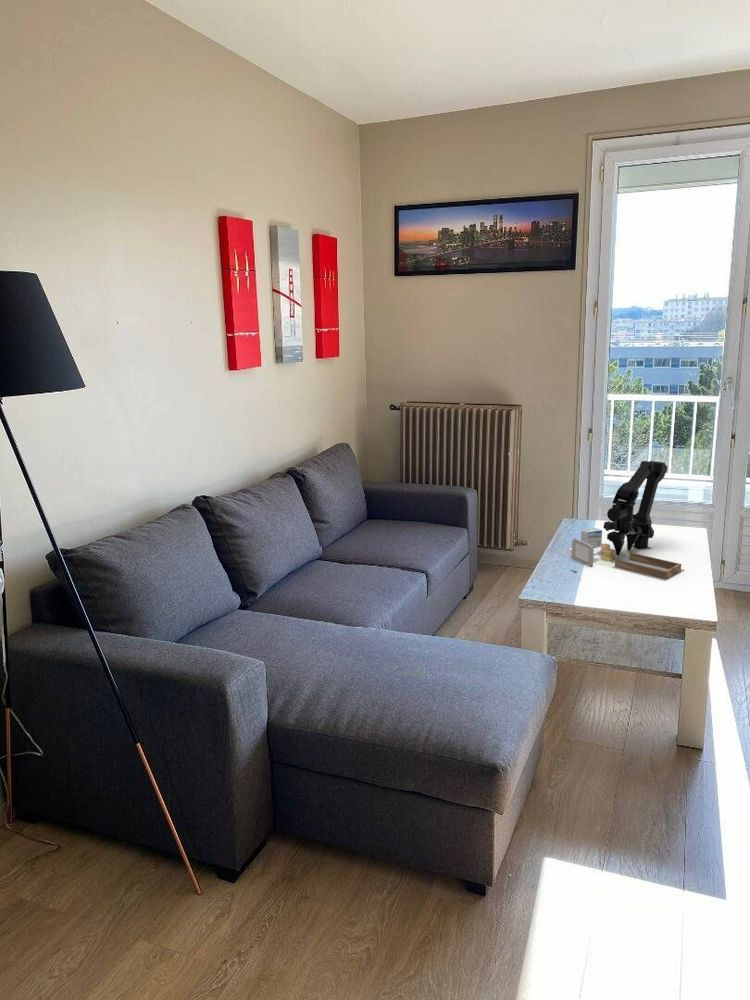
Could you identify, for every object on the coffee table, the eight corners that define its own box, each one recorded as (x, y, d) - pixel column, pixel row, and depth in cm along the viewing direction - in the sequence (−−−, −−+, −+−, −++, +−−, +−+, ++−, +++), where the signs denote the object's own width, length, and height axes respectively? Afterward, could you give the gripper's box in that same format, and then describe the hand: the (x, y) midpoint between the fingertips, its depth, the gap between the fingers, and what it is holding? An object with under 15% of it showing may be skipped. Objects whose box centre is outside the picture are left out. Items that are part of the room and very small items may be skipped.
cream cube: (571, 555, 321) (572, 546, 320) (580, 556, 319) (581, 547, 318) (568, 558, 318) (569, 549, 317) (578, 559, 316) (578, 550, 315)
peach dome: (603, 552, 320) (604, 543, 319) (611, 554, 318) (611, 544, 317) (599, 554, 318) (599, 545, 317) (606, 556, 315) (607, 546, 314)
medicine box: (586, 551, 325) (587, 532, 323) (580, 548, 329) (581, 529, 327) (601, 549, 328) (602, 530, 326) (595, 546, 332) (596, 527, 330)
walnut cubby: (630, 559, 311) (630, 552, 310) (680, 571, 296) (681, 564, 295) (614, 566, 302) (615, 559, 302) (665, 579, 287) (666, 572, 286)
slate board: (601, 553, 323) (602, 550, 323) (685, 572, 297) (685, 569, 297) (580, 562, 312) (580, 559, 311) (665, 584, 286) (665, 581, 286)
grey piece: (555, 563, 312) (556, 540, 309) (573, 560, 315) (574, 537, 313) (575, 573, 300) (576, 549, 298) (593, 569, 303) (595, 546, 301)
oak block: (605, 557, 314) (606, 548, 313) (614, 559, 311) (615, 550, 310) (600, 559, 311) (601, 550, 310) (609, 561, 308) (610, 552, 307)
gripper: (619, 509, 324) (617, 543, 328) (596, 517, 312) (594, 553, 316) (643, 513, 316) (641, 548, 320) (621, 522, 304) (618, 559, 308)
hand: (623, 552), depth 316 cm, fingers open, 9 cm apart
